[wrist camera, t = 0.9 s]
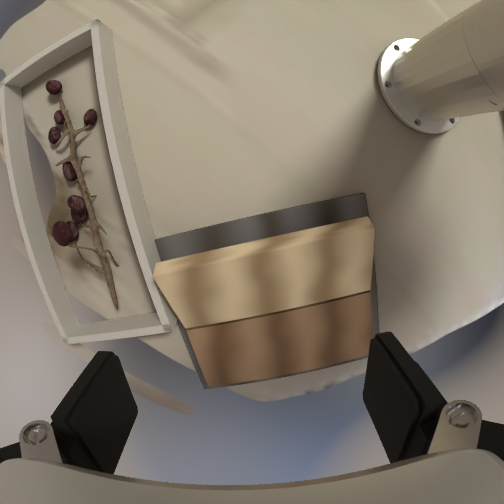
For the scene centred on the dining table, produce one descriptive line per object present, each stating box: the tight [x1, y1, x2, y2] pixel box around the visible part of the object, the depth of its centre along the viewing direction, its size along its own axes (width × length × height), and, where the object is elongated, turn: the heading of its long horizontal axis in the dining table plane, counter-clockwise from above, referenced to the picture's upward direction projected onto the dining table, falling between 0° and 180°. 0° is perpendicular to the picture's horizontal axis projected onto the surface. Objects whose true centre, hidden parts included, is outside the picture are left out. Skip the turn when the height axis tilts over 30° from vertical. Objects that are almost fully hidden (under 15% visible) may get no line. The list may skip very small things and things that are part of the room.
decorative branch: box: [46, 80, 119, 310], centre depth 30 cm, size 11×9×30 cm
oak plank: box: [153, 216, 375, 329], centre depth 32 cm, size 22×9×2 cm, turn 103°
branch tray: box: [0, 19, 179, 344], centre depth 31 cm, size 17×38×4 cm, turn 13°
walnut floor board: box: [154, 193, 379, 389], centre depth 35 cm, size 25×22×2 cm
